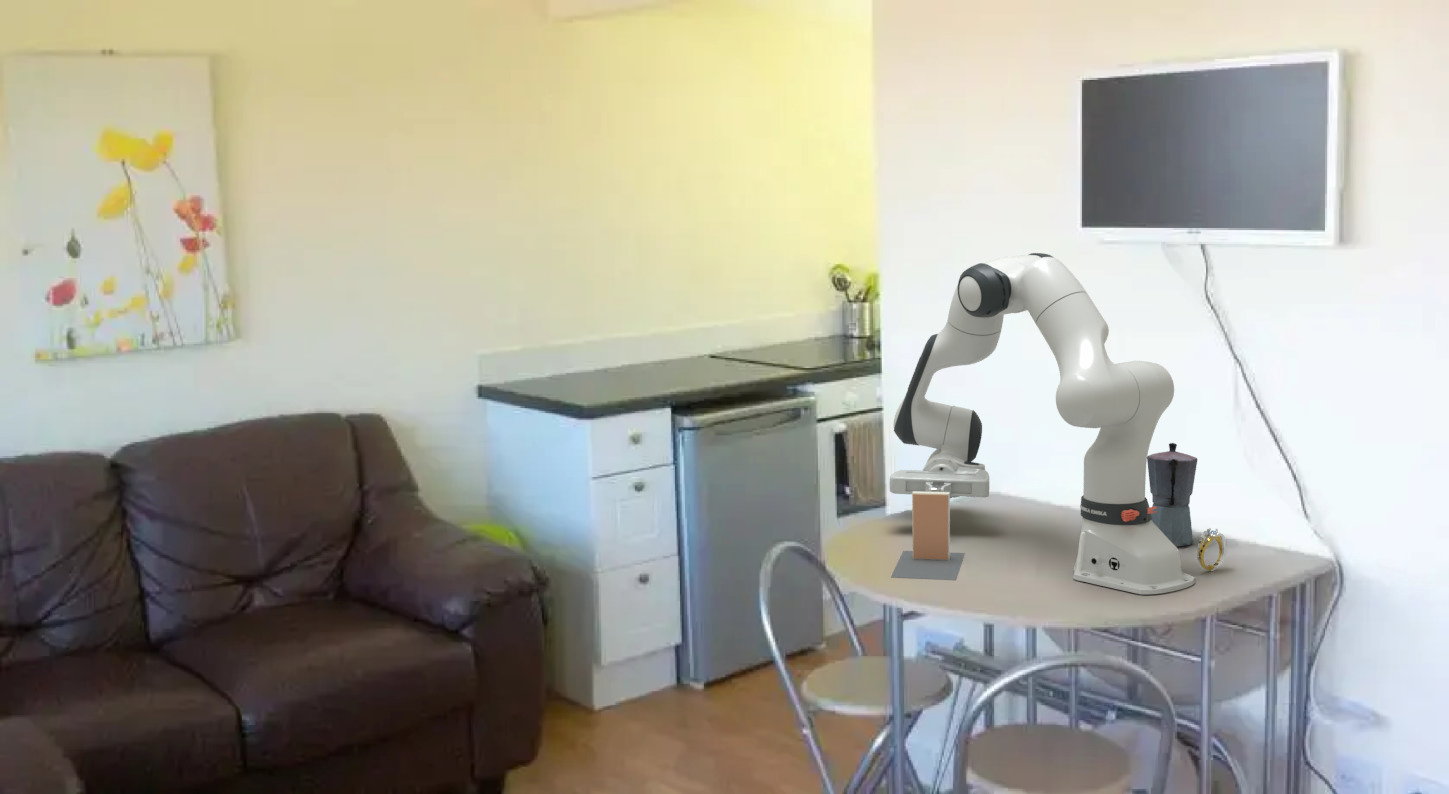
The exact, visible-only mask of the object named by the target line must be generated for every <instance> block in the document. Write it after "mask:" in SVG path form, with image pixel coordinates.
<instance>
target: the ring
mask: <svg viewBox="0 0 1449 794" xmlns="http://www.w3.org/2000/svg"><path fill="white" fill-rule="evenodd" d="M1205 539H1206V540H1205ZM1213 540H1215V541H1216V543H1217V545H1218V549H1219V553H1218V558H1217V560H1216V561H1215V562H1214V563H1213V564H1209V565H1206V562H1205V559H1204V558H1205V553H1206V550H1207V548H1208V547H1209V545H1210V544H1211V542H1212V541H1213ZM1226 554H1227V542H1226V537H1225V535H1224V534H1223V533H1220V532H1219V530H1218V528H1215V530H1212V528H1210V527H1209V528H1207V529H1206V530H1204V531H1203V532H1202V534H1201V536H1200V538H1199V540H1198V544H1197V549H1196V558H1197V559H1196V560H1197V562H1198V565H1199V566H1200V568H1202V569H1203V570H1206V571H1209V572H1212V571H1213V572H1215V571H1216V570H1217V569H1219V568H1220V566H1222V564H1223V562H1224V560H1225V558H1226Z"/></svg>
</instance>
